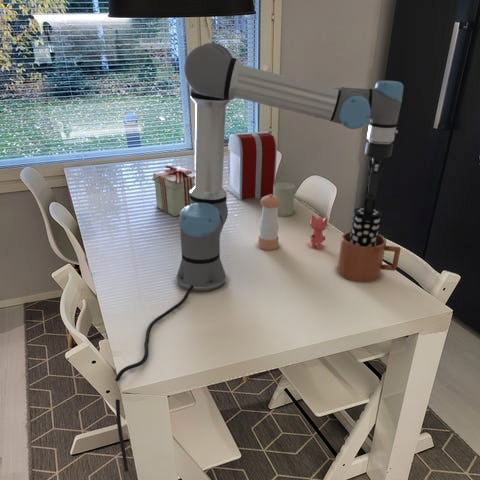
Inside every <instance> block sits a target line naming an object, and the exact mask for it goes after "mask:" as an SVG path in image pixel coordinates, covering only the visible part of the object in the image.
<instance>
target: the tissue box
mask: <svg viewBox="0 0 480 480" xmlns="http://www.w3.org/2000/svg"><path fill="white" fill-rule="evenodd" d="M227 147H228V149H227V150H228V151H227V152H228V153H227V155H228V157H227V162H228V163H227V191H229V192H230V193H231V194H232V195H234V197H236V198H237V199H238V200H240V201H242V200H251V199H253V200H254V199H260V198H261V199H262V198H263V197H264V196H267V195H269V194H272V195H273V185H274V184H275V183H276V173H277V170H276V169H277V155H278V153H277V152H278V151H277V149H278V148H277V141H276V138H275V136H274V134H272V133H271V132H270V131H255V132H254V131H247V132H238V133H231V134H230V135H229V139H228V146H227Z"/></svg>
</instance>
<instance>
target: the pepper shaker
mask: <svg viewBox="0 0 480 480" xmlns="http://www.w3.org/2000/svg"><path fill="white" fill-rule="evenodd" d="M280 203H281V201H280V199H279V198H278V197H276V196H273V195H272V194H269V195H267V196H264V197H262V198H261V199H260V206H262V211H261V220H260V225H259V235H258V239H257V243H258V244H257V247H258V248H260V249H262V250H268V251H270V250H271V251H272V250H275V249H277V248H279V239H280V238H279V218H278V216H279V215H278V207H279V206H280Z"/></svg>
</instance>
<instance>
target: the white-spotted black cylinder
mask: <svg viewBox="0 0 480 480" xmlns="http://www.w3.org/2000/svg"><path fill="white" fill-rule="evenodd" d="M364 207H365V206H359V207H355V208H354V210H353V216H352V222H351V229H350V231H351V236H350V243H352V244H354V245H359V246H366V247H373V246H376V243H377V237H378V234H379V231H380V226H381V220H382V216H383V211H382V210H380V209H379V208H375V207H374V211H373V217H372V222H370V221H362V219H363V213H364Z"/></svg>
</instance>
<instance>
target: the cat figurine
mask: <svg viewBox="0 0 480 480" xmlns="http://www.w3.org/2000/svg"><path fill="white" fill-rule="evenodd" d="M309 225H310V229H312V230H313V231H312V233H311V234H310V244H309V246H310V248H313V249H314V248H315V249H317V250H319V249H323V248H324V245H323V244H322V243H323V242H324V241H326V236H325V235H323V232H324V231H325V230H326V229H328V227H329V224H328V216H327V217H326V216H325V217H324V218H323V217H321V216H314V214H313V213H312V214H311V215H310V222H309Z"/></svg>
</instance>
